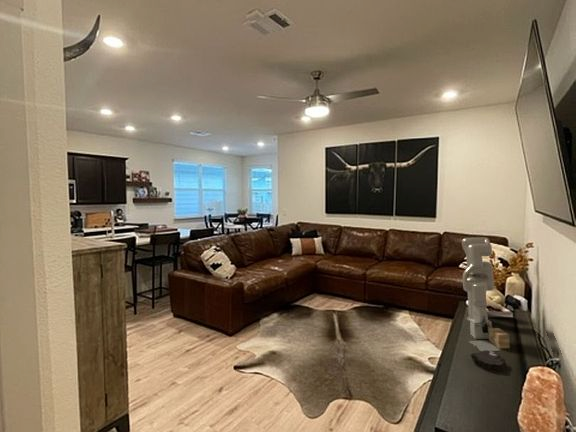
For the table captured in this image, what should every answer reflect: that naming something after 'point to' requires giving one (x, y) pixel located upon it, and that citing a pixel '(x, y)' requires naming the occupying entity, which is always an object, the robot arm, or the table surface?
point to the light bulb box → (478, 329)
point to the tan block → (499, 338)
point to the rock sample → (489, 361)
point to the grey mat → (484, 345)
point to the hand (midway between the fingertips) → (481, 329)
